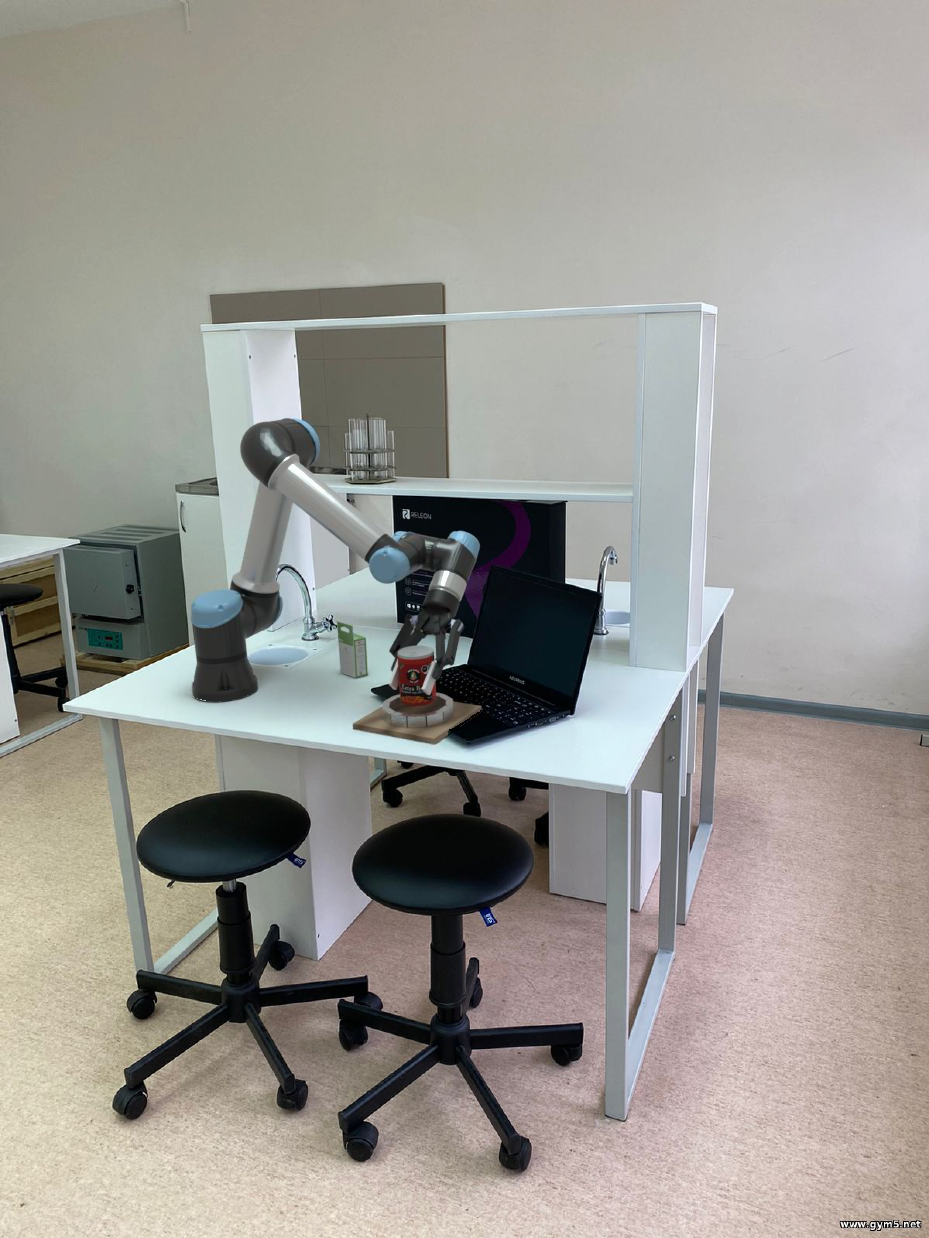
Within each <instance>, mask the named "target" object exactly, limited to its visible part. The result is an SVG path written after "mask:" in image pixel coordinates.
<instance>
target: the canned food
mask: <svg viewBox="0 0 929 1238" xmlns="http://www.w3.org/2000/svg"><path fill="white" fill-rule="evenodd" d="M397 656H398V673H399V684H398V687H399V694H400V699H401V701H402V703H403V704H405V705H409V706H423V705H427V704H430V703H432V702H433V701H434V700H435V698H436V693H437V688H436V687H437V686H436V685H437V683H436V681H435V683H434V686H433V688H432V691H431V694H430V695H427V694H426V693H425V692H424V691H423V690H422V687H423V684H424V681H425V679H426V676H427V673H428V671H429V668H430V665H431V663H432V661H435V662H436V660H435V651H434V648H433V647H431V646H428V645H417V646H409V647H405V648H402V649H400V650H399V651H398V655H397Z"/></svg>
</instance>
